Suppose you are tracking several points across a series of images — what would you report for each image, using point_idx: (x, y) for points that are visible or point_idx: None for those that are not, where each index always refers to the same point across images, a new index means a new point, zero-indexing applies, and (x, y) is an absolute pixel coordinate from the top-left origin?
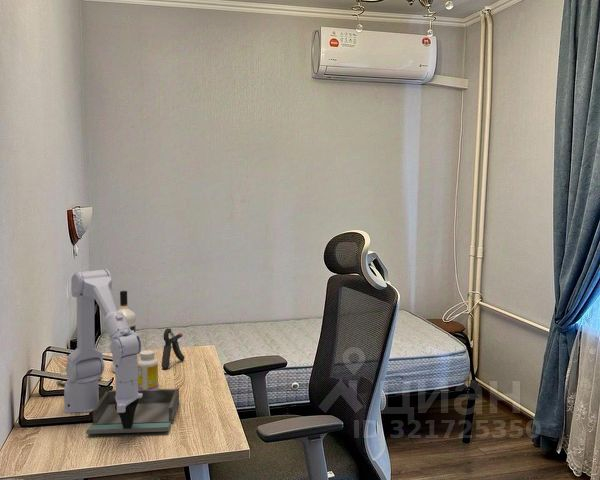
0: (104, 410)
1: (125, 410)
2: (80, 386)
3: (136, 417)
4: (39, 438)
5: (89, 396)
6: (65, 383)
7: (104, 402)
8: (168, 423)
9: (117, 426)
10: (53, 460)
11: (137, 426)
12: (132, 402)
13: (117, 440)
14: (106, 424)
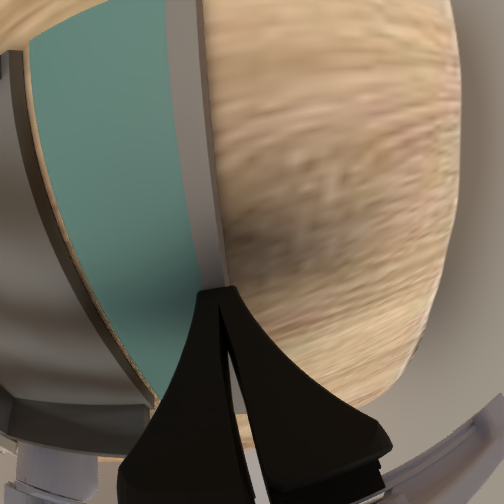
0: (55, 406)
1: (491, 408)
2: (78, 493)
3: (23, 305)
4: (242, 434)
5: (60, 457)
6: (17, 444)
7: (50, 431)
8: (52, 40)
9: (176, 353)
10: (366, 373)
11: (160, 258)
12: (249, 501)
13: (264, 296)
14: (135, 382)
